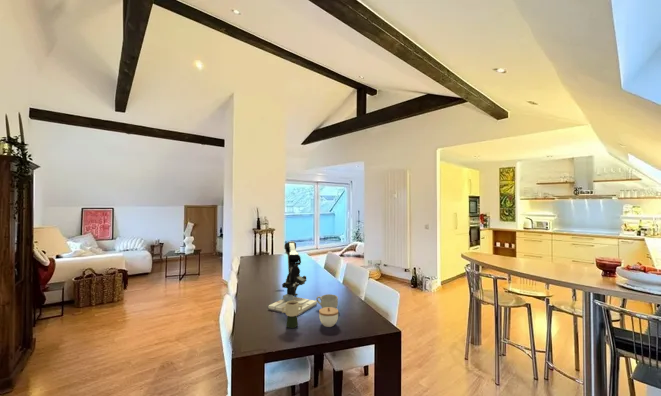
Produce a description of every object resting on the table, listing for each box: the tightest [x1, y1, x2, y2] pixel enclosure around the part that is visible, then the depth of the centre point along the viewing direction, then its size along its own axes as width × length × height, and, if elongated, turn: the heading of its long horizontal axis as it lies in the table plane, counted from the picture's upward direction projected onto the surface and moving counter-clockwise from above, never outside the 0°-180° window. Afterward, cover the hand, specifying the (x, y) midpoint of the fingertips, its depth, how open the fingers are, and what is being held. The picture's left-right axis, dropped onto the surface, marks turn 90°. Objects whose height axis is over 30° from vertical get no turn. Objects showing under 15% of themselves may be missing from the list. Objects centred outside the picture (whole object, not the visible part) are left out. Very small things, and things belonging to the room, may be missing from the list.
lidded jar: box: [318, 307, 339, 328], centre depth 162 cm, size 11×11×9 cm
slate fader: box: [282, 293, 293, 301], centre depth 194 cm, size 4×5×5 cm
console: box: [268, 296, 318, 317], centre depth 189 cm, size 22×22×3 cm
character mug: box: [281, 301, 302, 329], centre depth 159 cm, size 11×7×13 cm, turn 106°
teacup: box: [315, 293, 339, 309], centre depth 186 cm, size 14×11×8 cm
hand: (293, 295), depth 200 cm, fingers closed
